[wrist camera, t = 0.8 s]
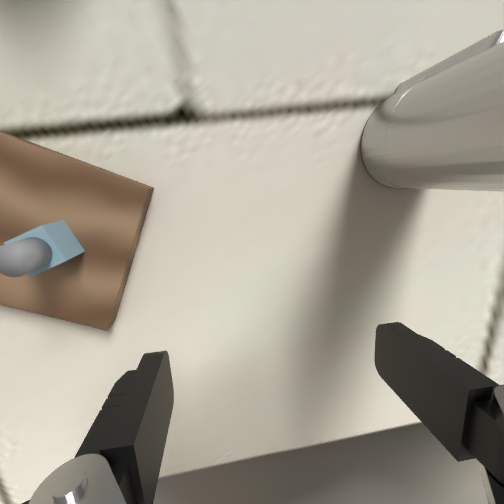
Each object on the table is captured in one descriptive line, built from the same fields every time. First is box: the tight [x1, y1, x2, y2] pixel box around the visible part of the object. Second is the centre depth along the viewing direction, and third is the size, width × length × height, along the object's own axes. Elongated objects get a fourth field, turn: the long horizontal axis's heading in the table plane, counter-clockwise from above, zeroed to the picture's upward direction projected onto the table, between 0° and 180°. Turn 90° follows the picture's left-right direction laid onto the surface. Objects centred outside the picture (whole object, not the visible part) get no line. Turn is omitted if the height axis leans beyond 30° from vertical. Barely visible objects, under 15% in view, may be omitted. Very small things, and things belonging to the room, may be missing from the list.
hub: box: [0, 220, 85, 277], centre depth 20 cm, size 3×3×6 cm
